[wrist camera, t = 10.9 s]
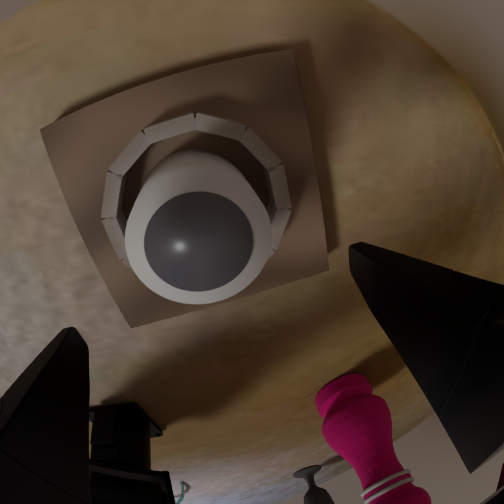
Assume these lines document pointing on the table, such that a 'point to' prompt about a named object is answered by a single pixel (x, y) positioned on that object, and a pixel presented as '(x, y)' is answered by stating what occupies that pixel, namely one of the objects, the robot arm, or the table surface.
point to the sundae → (313, 487)
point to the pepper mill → (366, 440)
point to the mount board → (194, 137)
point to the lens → (197, 229)
